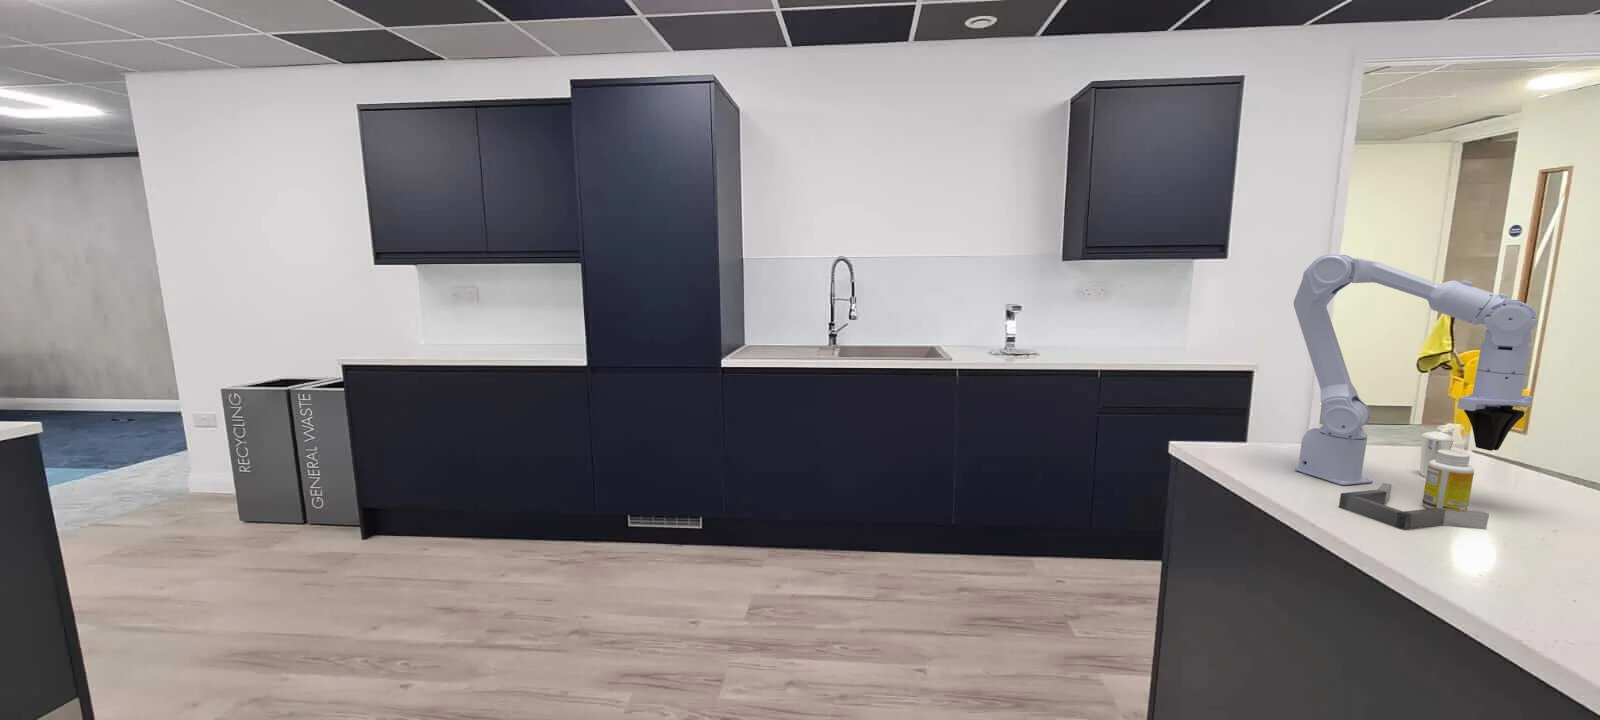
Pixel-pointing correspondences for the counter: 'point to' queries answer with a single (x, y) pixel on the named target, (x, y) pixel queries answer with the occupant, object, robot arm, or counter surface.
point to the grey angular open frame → (1375, 508)
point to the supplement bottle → (1448, 481)
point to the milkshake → (1433, 447)
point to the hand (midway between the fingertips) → (1486, 448)
